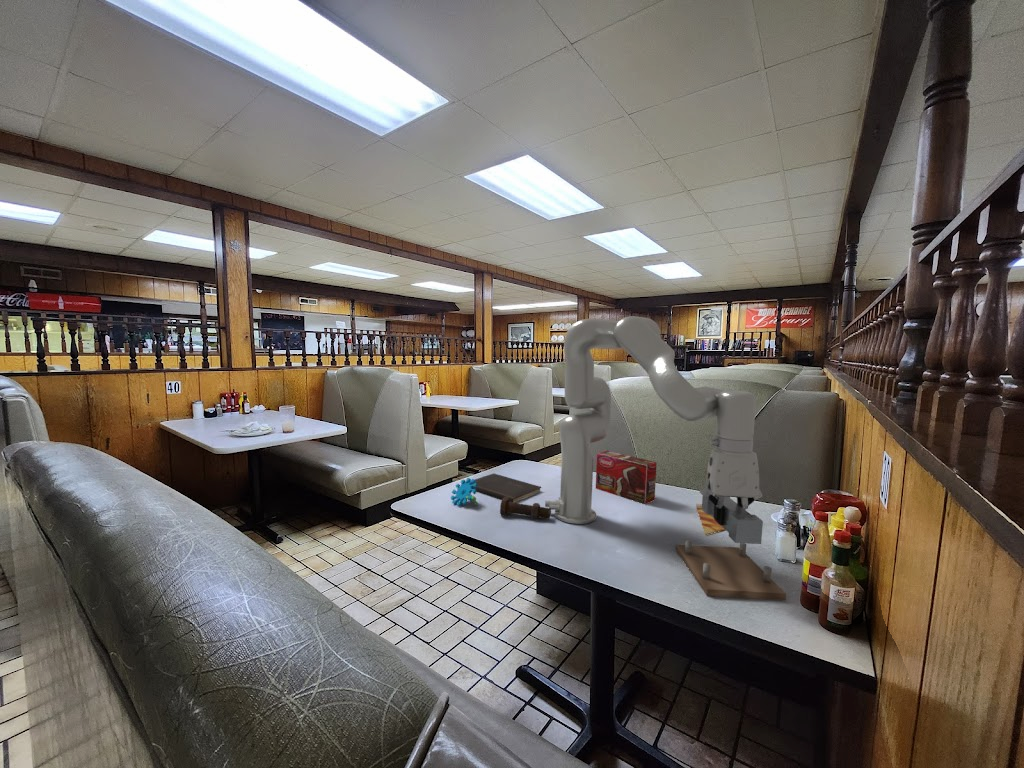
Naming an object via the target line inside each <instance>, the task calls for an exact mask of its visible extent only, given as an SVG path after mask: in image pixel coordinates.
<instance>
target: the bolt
mask: <svg viewBox="0 0 1024 768" xmlns="http://www.w3.org/2000/svg"><path fill="white" fill-rule="evenodd" d="M500 501H501V502H500V507H499V514H500V515H501V517H506V516H507V514H514V515H521V516H527V517H531V519H532V520H535V521H537V520H538V519H547V520H548V519H550V518H551V514H552V510H551V509H549V507H544V506H543V507H542V506H541V505H540V503H539V502H534V503H533V504H532V505H530V504H523V503H518V502H515V503H513V502H509V497H504V498H503V499H502V500H500Z"/></svg>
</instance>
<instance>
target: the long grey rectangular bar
mask: <svg viewBox="0 0 1024 768" xmlns="http://www.w3.org/2000/svg"><path fill="white" fill-rule="evenodd" d="M709 493H711V494H712V495H714V493H713V492H712V491H711V490H709ZM701 504H702V510H703V511H704V512H705V513H706V514H707V515H711V516H712V517H713V518H714V504H713V503H712V502H711V501H710V500H709V499H708V498H706V497H705V496H703V495H702V499H701ZM723 508H724V525H721V526H722V527H723V528H724V529H725V530H724V531H726V532H728V537H729V538H730V540H732V541H733V542H734V543H735V544H740V543H745V544H748V545H749V544H751V545H753V544H754V545H757V544H758V545H762V541H763V540H762V537H763V525H764V524H763V523H764V521H763V520H762V519H761V518H760V517H759V516H757V515H756V514H751V513H750V512H748V510H747V509H746V510H745V509H743V508H742V507H741V506H739V505H738V504H737V501H736V502H735V500H734V499H732V497H724V502H723Z"/></svg>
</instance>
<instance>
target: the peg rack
mask: <svg viewBox="0 0 1024 768" xmlns="http://www.w3.org/2000/svg"><path fill="white" fill-rule="evenodd" d="M675 551H676V553H677V552H678V553H677V554H678V556H679V555H680V556H679V557H680V558H682V559H681V561H682V562H683V561H684V562H683V564H684V565H685V564H686V565H685V566H686V567H688V568H689V569H688V568H687V569H688V571H689V572H690V571H691V572H690V573H691V575H692V574H693V575H692V577H693V578H694V577H695V578H694V580H695V581H696V582H697V584H698V585H699V586H700V589H701V590H702V591H703V592H704V593H705V595H706V597H718V598H723V597H724V598H735V599H736V598H738V599H753V600H754V599H755V600H756V599H757V600H772V601H773V600H774V601H786V599H787V593H786V591H784V589H782V588H781V587H780V586H779V584H777V583H776V582H775V581H774V580H773V579H772V571H773V570H772V567H770V566H767V565H765V566H764V567H763V568H762V567H760V566H759V565H758V564H757V563H756V562H755V561H754V560H753V559H752V558H751V557H750V556H749V555H748V554H747V543H739V547H737V546H736V547H734V546H722V545H721V546H720V545H719V546H717V545H701V544H700V545H699V544H697V545H696V544H693V542H692V541H691V540H689V539H686V540H685V544H679V543H678V544H677V543H676V544H675Z"/></svg>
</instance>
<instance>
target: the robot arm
mask: <svg viewBox="0 0 1024 768" xmlns="http://www.w3.org/2000/svg"><path fill="white" fill-rule="evenodd" d="M563 348H564V365H565V366H564V367H565V368H564V401H565V404H566V405H567V407H569V408H570V409H573V410H583V412H580V413H573V414H570V415H567V416H566V417H565V418H563V419H562V421H561V422H560V423H559V424H560V425H559V428H558V430H559V431H558V432H559V433H558V434H559V441H560V448H561V449H560V451H561V453H560V454H561V463H560V467H561V468H560V469H561V470H560V491H559V492H560V494H559V495H560V497H558V499H555V501H553V500H552V501H551V500H544V502H545V503H544V506H545V508H549V509H551V511H552V510H554V516H555V518H557V520H560V521H562V522H564V523H565V522H566V523H567V524H576V525H577V524H578V525H583V524H584V525H586V524H589V523H592V522H594V521H595V520H596V519H597V512H596V511H595V510H594V509H593V508H592V498H593V478H594V477H593V476H594V475H593V474H594V473H593V472H594V455H593V452H592V449H591V446H590V444H591V443H597V442H600V441H602V440H604V439H605V438H607V436H608V434H609V432H610V429H611V428H610V427H611V415H612V414H611V408H612V402H611V401H612V393H611V390H610V386H609V384H608V383H607V381H606V380H604V379H603V378H602V377H599V376H595V373H594V372H595V370H594V369H595V363H594V358H593V355H592V353H591V350H592V349H595V350H597V349H599V350H600V349H602V350H615V349H616V350H621V349H622V350H623V349H624V351H626V352H627V354H629V355H630V356H631V357H632V358H633V359H634V360H635V362H636V363H637V364H638V365H639V367H640V368H642V370H644V371H645V372H646V373H647V375H648V377H649V378H648V379H649V381H650V383H651V386H652V388H653V390H654V392H655V393H656V395H657V396H658V397H659V398H660V399H661V400H662V401H663V403H664V404H665V405H666V406H667V407H668V408H669V409H670V410H671V411H672V412H673V414H675V415H676V416H677V417H678V418H681V419H682V420H684V421H687V422H698V421H702V420H707V419H712V418H716V428H715V429H716V430H715V435H714V438H713V439H709V441H708V443H709V446H714V448H712V449H711V453H710V455H709V458H708V464H707V470H706V477H705V478H706V479H705V482H704V483H703V485H702V486H701V488H700V489H699V490H698V491H699V494H700V495H701V496H702V497H703V496H705V497H706V498H708V499H709V500H710V501H711V502H712V503H713V504H714V519H715V521H716V522H717V523H718V524H719V525H724V508H723V502H724V497H730V498H736V503H737V504H738V505H739V506H741V507H742V508H743V509H745V510H746V511H747V510H748V508H749V506H750V505H751V504H752V503H754V502H755V501H757V500H759V499H760V498H762V497H764V496H763V493H762V491H761V489H760V471H759V470H760V469H759V461H758V455H757V452H754V451H753V449H754V434H755V423H756V420H755V419H756V407H757V406H756V405H757V397H756V396H755V394H754V393H753V392H750V391H745V390H734V389H733V390H732V389H730V390H727V389H726V390H725V389H720V388H715V387H710V386H701V387H694V385H692V384H691V383H690V382H689V381H688V380H687V379H686V378H685V377H684V376H683V375H682V373H681V372H680V371H679V370H678V368H677V367H676V365H675V356H676V353H675V350H674V349H673V348H672V347H671V346H670V345H669V344H668V343H667V342H666V341H665V340H663V338H661V329H660V327H659V325H658V324H657V322H656V321H655V320H653V319H651V318H649V317H643V316H635V315H634V316H633V315H629V316H626V317H623V318H621V319H619V320H610V319H609V320H608V319H600V318H585V319H584V318H583V319H580V320H578V321H576V322H574V323H573V324H572V325H571V326H570V327H568V330H567V331H566V334H565V336H564V341H563ZM709 491H712V492H713V493H714V495H712V494H711V493H709Z"/></svg>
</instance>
